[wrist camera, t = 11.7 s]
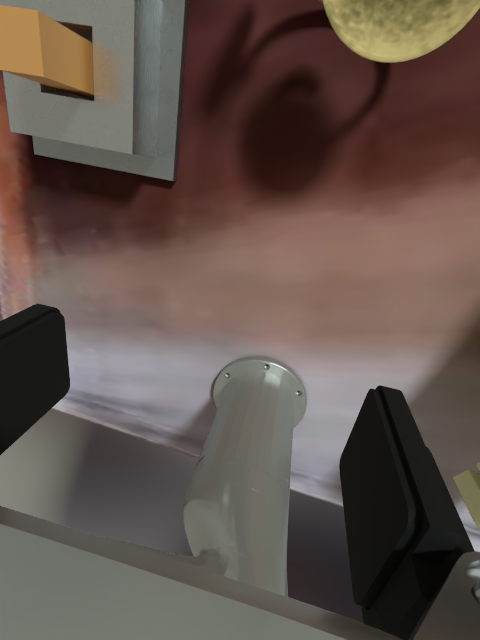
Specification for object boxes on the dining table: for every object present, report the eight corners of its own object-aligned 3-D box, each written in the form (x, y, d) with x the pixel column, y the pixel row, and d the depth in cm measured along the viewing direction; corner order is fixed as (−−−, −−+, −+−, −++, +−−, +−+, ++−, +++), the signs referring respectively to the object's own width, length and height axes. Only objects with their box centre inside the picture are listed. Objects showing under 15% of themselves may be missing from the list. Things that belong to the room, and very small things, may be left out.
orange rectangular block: (117, 57, 30) (37, 10, 21) (117, 103, 32) (43, 76, 23) (81, 52, 31) (-11, 3, 22) (83, 97, 32) (-2, 69, 23)
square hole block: (176, 180, 35) (152, 182, 29) (41, 154, 36) (-5, 151, 31) (190, -20, 28) (162, -66, 22) (22, -42, 29) (-42, -89, 24)
